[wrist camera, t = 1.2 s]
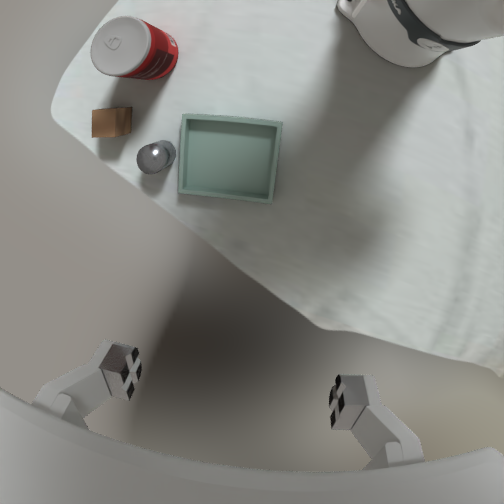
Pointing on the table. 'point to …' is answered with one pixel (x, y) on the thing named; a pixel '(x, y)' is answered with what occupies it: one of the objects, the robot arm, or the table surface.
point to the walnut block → (111, 122)
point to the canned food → (133, 49)
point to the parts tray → (229, 157)
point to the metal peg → (156, 156)
